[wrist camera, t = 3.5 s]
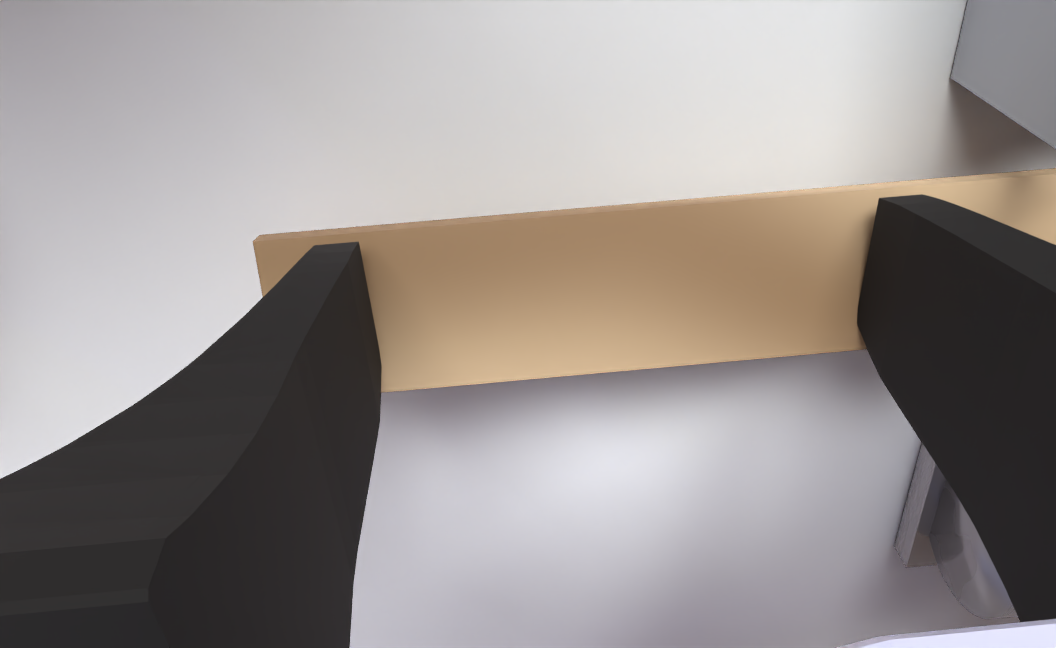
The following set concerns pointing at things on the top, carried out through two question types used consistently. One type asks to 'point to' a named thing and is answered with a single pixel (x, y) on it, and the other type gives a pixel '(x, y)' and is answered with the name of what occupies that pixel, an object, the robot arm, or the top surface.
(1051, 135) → the tray
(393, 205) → the top surface
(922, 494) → the fulcrum
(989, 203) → the ramp
